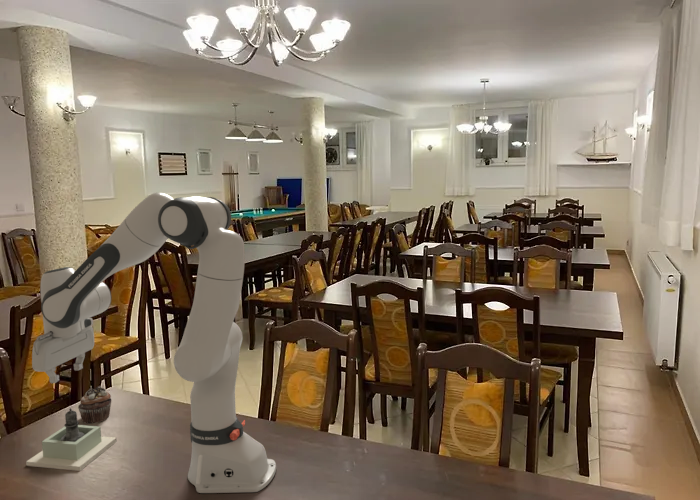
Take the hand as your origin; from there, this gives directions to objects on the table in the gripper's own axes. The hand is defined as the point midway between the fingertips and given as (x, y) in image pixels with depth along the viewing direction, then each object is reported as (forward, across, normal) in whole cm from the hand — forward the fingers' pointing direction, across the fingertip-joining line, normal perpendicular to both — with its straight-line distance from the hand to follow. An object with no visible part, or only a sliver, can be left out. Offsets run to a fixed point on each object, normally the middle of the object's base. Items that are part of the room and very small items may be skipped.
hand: (67, 375), depth 147 cm
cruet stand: (+23, 0, 0) cm, 23 cm away
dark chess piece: (+22, 0, 0) cm, 22 cm away
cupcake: (+23, +21, +8) cm, 32 cm away
